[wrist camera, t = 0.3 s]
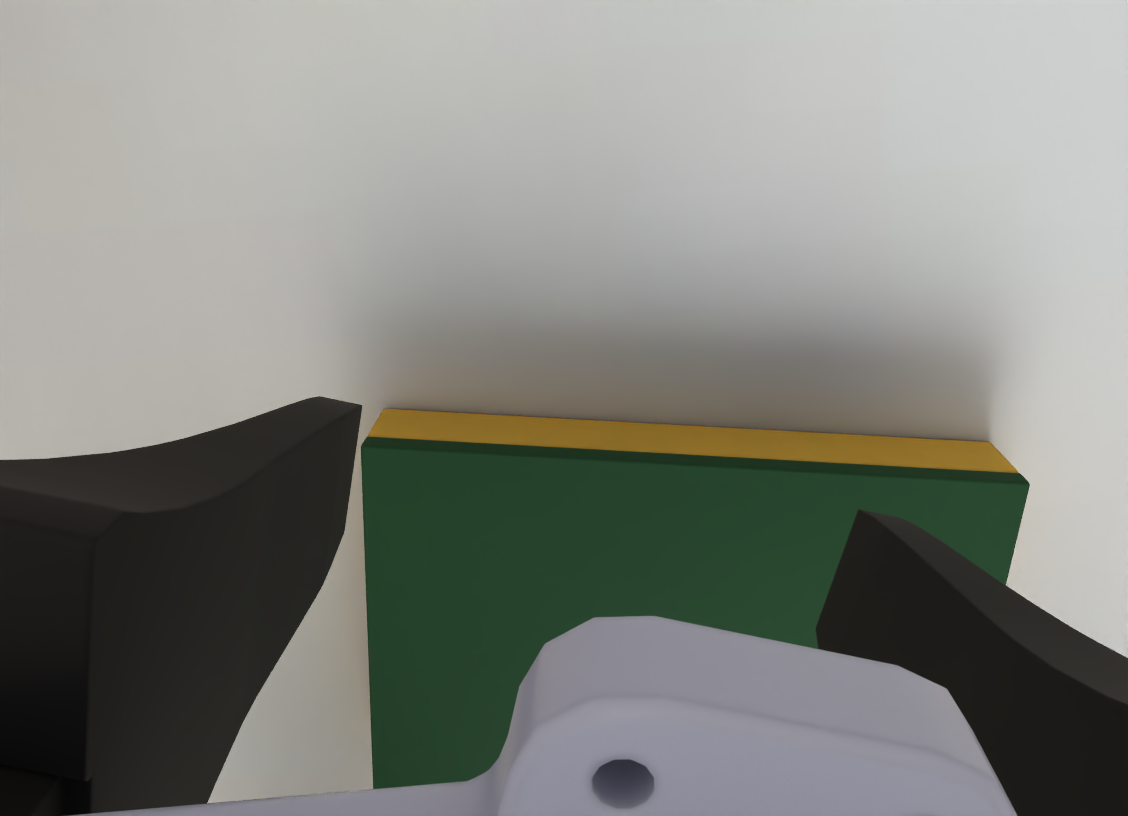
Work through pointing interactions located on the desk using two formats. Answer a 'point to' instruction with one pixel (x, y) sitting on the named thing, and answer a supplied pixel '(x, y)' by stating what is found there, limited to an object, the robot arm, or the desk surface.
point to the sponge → (616, 548)
